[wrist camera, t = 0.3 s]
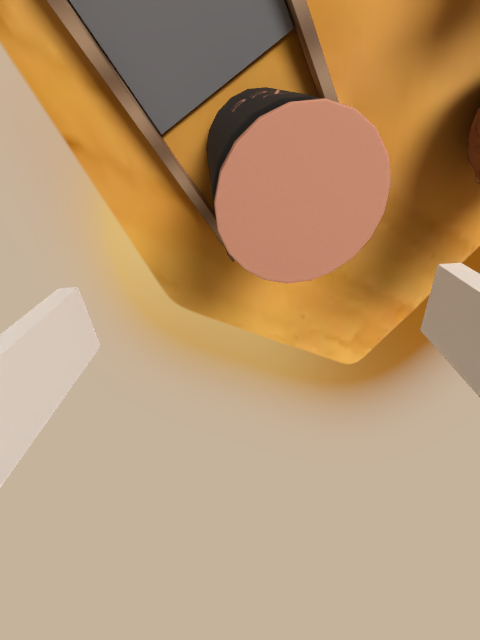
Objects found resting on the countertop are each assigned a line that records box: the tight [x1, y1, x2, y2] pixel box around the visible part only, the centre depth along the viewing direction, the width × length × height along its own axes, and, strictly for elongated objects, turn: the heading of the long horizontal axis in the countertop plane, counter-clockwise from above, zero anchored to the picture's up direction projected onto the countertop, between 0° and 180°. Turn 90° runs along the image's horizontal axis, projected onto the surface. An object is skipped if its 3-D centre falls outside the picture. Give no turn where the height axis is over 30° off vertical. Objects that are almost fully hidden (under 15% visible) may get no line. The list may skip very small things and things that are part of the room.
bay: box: [47, 0, 339, 261], centre depth 27 cm, size 28×17×3 cm, turn 32°
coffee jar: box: [206, 87, 391, 283], centre depth 25 cm, size 11×11×18 cm
